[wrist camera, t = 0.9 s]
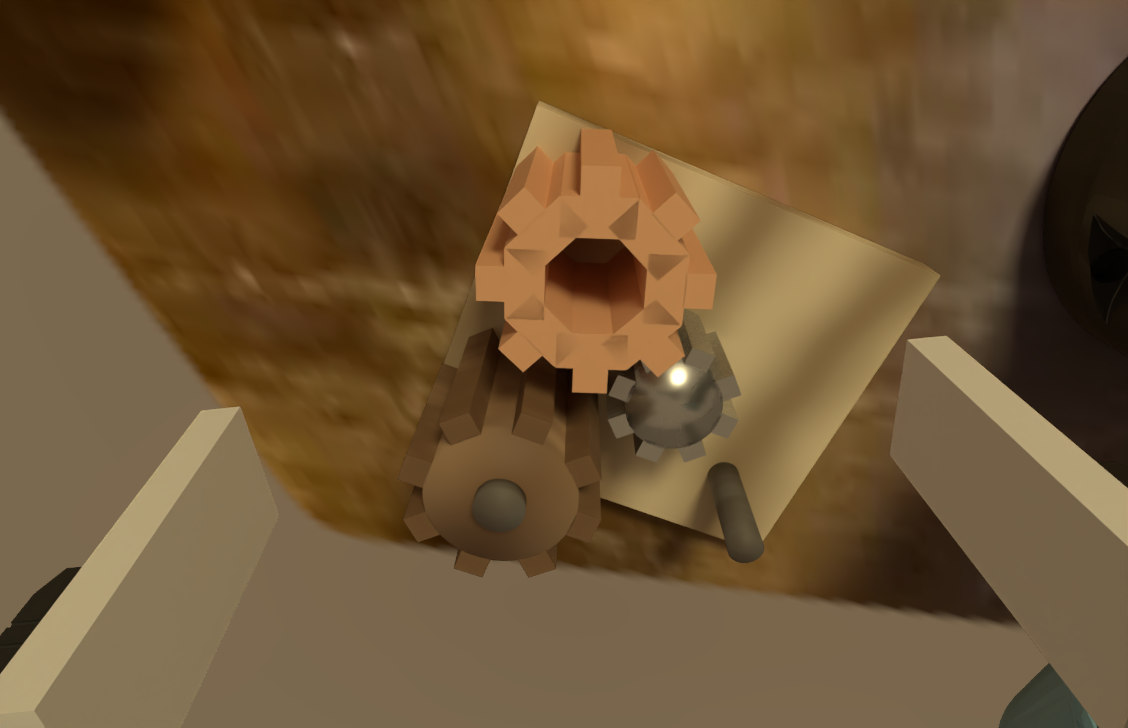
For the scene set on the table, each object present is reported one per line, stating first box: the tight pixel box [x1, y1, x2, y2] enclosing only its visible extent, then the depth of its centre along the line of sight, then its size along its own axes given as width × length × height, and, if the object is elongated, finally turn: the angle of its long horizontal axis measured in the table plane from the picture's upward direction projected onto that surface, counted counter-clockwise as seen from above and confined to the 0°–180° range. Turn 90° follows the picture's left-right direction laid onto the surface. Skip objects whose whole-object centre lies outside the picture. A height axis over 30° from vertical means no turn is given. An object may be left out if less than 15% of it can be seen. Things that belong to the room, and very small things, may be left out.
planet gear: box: [475, 129, 717, 394], centre depth 24 cm, size 7×7×7 cm
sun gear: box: [606, 309, 741, 463], centre depth 28 cm, size 5×5×4 cm
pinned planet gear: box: [397, 328, 602, 577], centre depth 28 cm, size 7×7×8 cm
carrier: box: [444, 101, 940, 563], centre depth 28 cm, size 17×15×6 cm
